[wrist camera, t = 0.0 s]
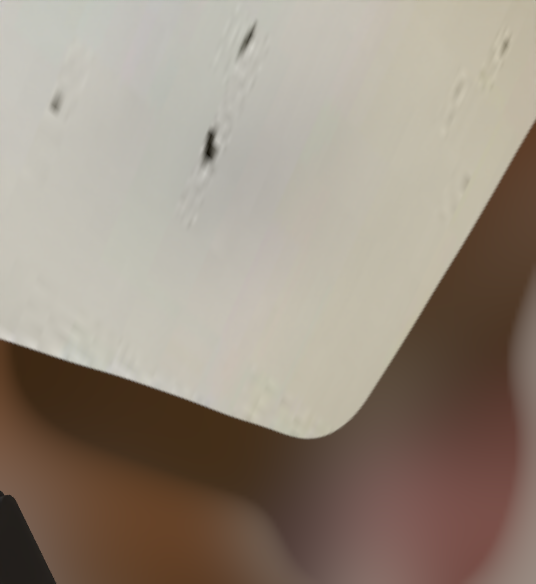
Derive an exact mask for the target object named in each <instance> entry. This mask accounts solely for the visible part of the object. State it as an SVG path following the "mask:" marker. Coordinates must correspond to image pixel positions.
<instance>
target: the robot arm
mask: <svg viewBox="0 0 536 584" xmlns="http://www.w3.org/2000/svg"><path fill="white" fill-rule="evenodd" d="M0 584H56V582H55V580H54V578H53V576H52V574H51V572H50V570H49V568H48V566H47V564H46V562H45V560H44V558H43V556H42V553H41V551H40V550H39V547H38V545H37V543H36V541H35V539H34V537H33V535H32V533H31V531H30V529H29V527H28V525H27V523H26V521H25V519H24V517H23V514H22V513H21V510H20V508H19V506H18V504H17V502H16V500H15V499H14V498H13V497H12V496H11V495H4V494H3V492H1V491H0Z"/></svg>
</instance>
